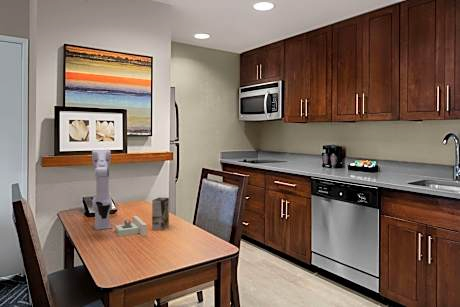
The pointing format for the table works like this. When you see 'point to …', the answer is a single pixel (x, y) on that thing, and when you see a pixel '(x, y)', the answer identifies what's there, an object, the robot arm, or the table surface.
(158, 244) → the table surface
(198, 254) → the table surface
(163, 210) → the coffee box
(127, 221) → the dowel
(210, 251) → the table surface
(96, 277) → the table surface
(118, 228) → the socket block
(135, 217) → the board
